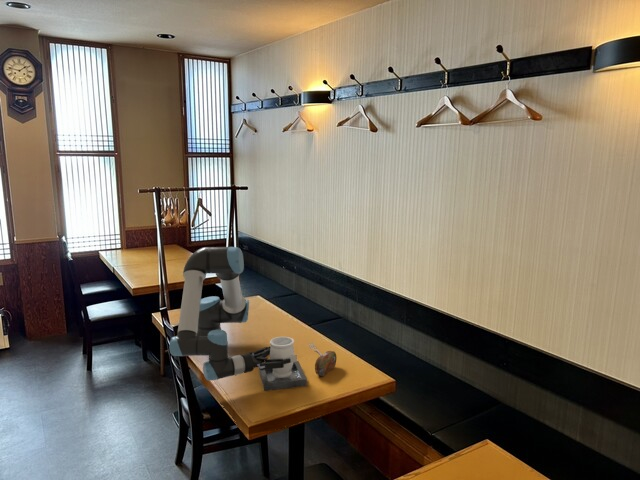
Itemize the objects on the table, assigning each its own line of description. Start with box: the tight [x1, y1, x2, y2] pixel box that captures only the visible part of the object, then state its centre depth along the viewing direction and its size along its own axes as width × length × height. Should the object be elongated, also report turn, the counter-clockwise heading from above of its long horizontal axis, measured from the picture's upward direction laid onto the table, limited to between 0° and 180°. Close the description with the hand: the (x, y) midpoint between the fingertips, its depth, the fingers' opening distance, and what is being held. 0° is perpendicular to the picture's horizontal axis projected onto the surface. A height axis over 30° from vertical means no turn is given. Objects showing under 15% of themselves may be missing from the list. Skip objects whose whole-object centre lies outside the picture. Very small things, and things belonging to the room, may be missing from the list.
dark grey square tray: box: [258, 360, 308, 392], centre depth 198 cm, size 18×18×3 cm
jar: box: [269, 336, 295, 378], centre depth 197 cm, size 11×10×15 cm
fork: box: [308, 342, 323, 356], centre depth 223 cm, size 3×24×2 cm, turn 24°
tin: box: [314, 350, 337, 377], centre depth 205 cm, size 15×3×8 cm, turn 148°
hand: (290, 353), depth 199 cm, fingers closed on jar, 10 cm apart
